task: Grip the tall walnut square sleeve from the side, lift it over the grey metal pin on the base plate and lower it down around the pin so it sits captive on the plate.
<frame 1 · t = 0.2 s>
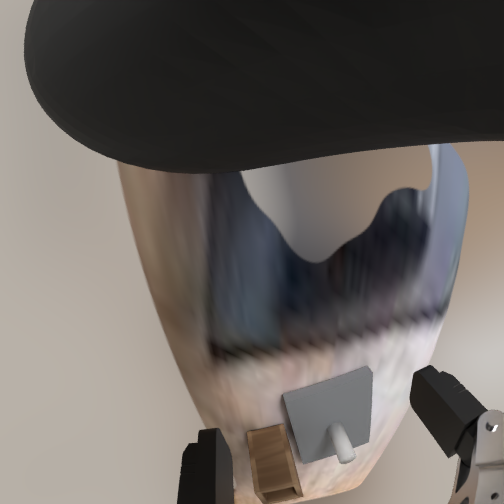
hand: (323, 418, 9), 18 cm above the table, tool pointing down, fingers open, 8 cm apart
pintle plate: (331, 419, 33), on the table
sleeve: (268, 437, 33), on the table
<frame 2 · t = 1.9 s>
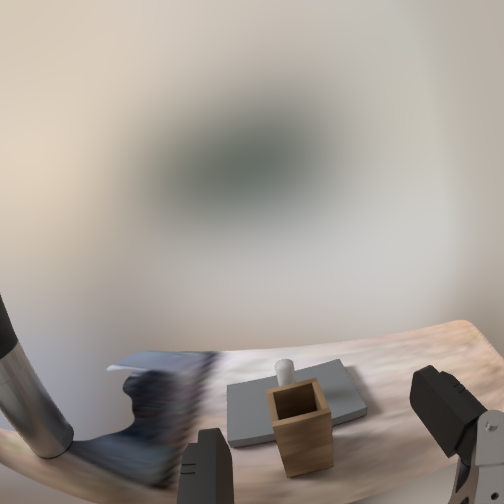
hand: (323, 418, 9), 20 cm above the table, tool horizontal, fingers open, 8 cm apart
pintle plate: (292, 405, 34), on the table
sleeve: (306, 455, 25), on the table
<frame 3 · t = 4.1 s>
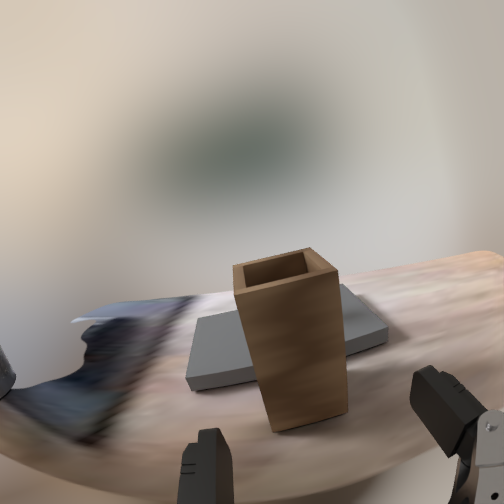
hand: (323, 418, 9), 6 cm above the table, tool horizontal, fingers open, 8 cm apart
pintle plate: (282, 337, 27), on the table
sleeve: (302, 399, 18), on the table
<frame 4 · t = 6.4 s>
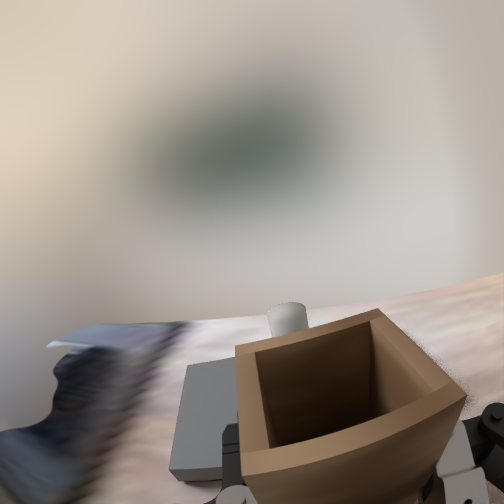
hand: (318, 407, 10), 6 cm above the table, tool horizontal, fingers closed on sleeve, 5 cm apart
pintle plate: (302, 401, 18), on the table
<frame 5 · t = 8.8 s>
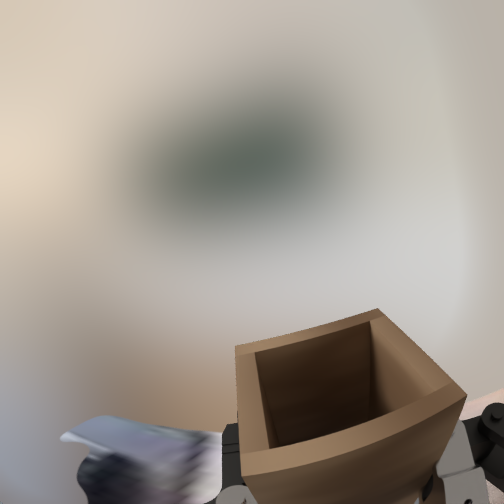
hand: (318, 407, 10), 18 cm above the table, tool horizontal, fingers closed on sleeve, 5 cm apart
when the fingers open (9 cm above the table, at t = 11.6 s): sleeve drops 1 cm, resting on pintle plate.
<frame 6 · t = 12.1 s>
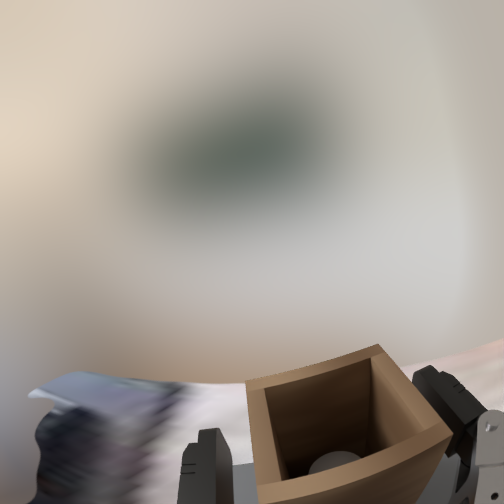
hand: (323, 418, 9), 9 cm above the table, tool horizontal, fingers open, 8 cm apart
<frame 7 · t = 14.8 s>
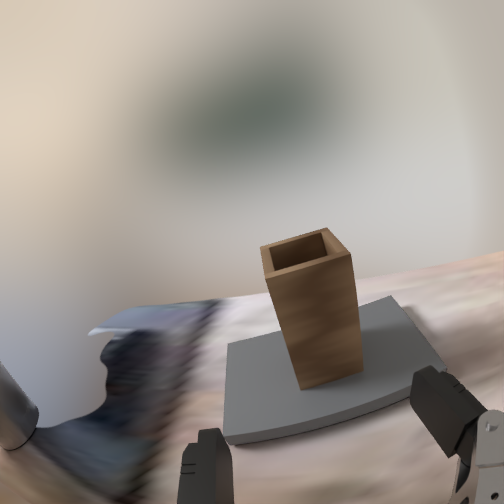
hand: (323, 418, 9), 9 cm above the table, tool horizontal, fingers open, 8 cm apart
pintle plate: (327, 371, 22), on the table
sleeve: (325, 359, 21), point 1 cm above the table, touching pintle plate
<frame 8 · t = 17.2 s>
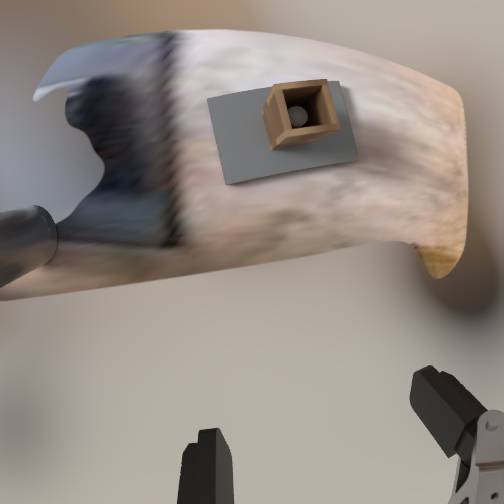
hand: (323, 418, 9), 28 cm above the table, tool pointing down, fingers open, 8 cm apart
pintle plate: (283, 129, 33), on the table
sleeve: (286, 127, 32), point 1 cm above the table, touching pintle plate
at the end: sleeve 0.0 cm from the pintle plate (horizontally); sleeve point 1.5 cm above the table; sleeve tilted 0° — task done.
